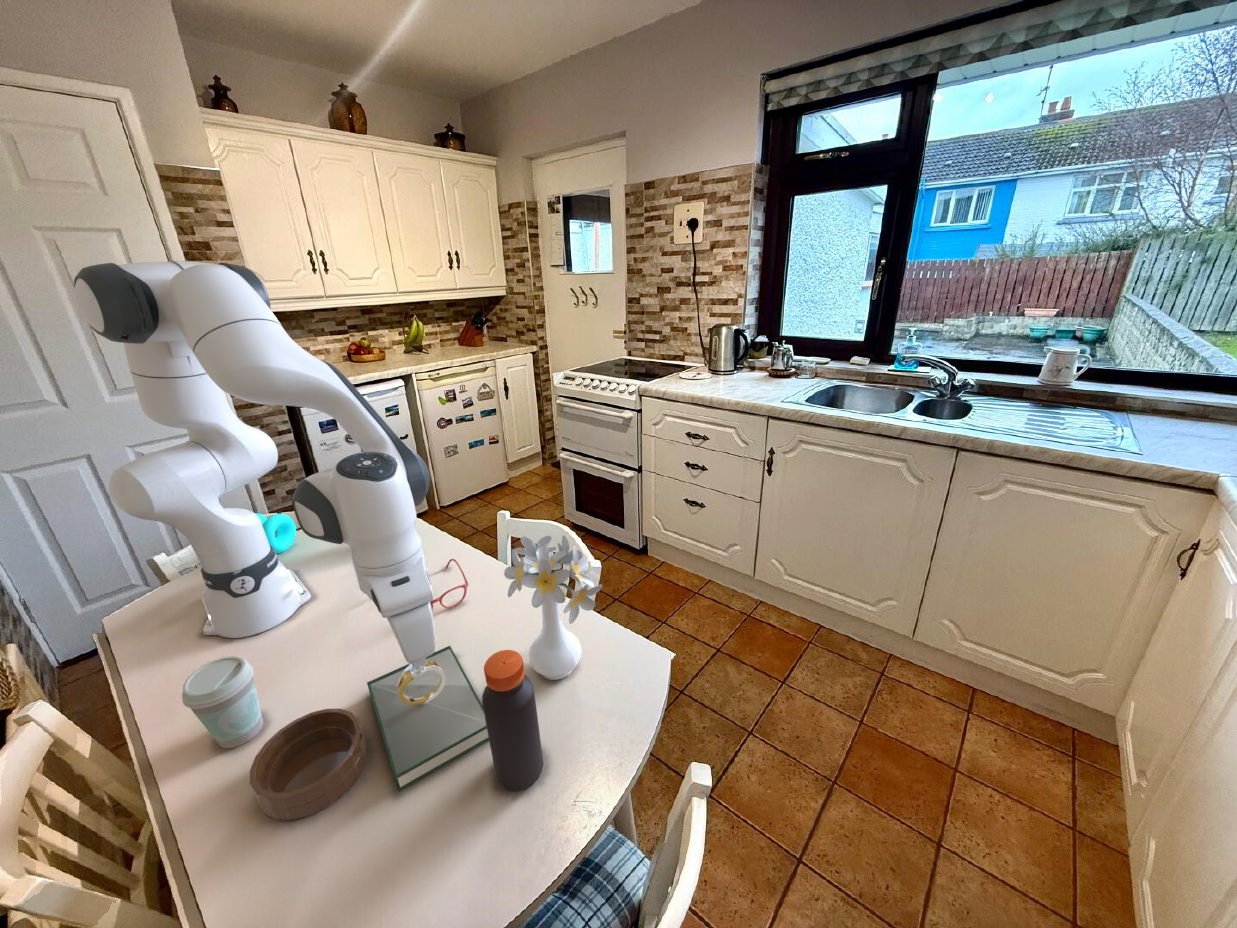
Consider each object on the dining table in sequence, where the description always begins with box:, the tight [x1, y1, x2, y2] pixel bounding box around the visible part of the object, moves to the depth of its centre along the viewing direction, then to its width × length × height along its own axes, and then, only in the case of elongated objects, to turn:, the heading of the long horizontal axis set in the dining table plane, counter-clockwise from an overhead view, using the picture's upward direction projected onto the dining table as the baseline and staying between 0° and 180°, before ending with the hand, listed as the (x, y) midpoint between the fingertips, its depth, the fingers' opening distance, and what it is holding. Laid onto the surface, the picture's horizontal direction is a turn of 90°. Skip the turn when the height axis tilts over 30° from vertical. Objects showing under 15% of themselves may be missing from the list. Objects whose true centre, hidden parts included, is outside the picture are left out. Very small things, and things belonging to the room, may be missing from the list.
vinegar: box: [481, 649, 544, 792], centre depth 66 cm, size 7×7×20 cm
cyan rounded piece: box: [254, 512, 297, 554], centre depth 124 cm, size 10×10×10 cm
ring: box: [398, 660, 446, 705], centre depth 76 cm, size 7×3×8 cm, turn 118°
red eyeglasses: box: [430, 558, 469, 610], centre depth 105 cm, size 17×16×5 cm
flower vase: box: [503, 535, 603, 681], centre depth 82 cm, size 13×18×25 cm
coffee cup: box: [181, 655, 264, 749], centre depth 74 cm, size 8×8×12 cm
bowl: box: [249, 708, 368, 821], centre depth 69 cm, size 13×13×5 cm
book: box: [366, 645, 489, 792], centre depth 78 cm, size 20×14×3 cm
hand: (410, 644), depth 73 cm, fingers open, 8 cm apart
